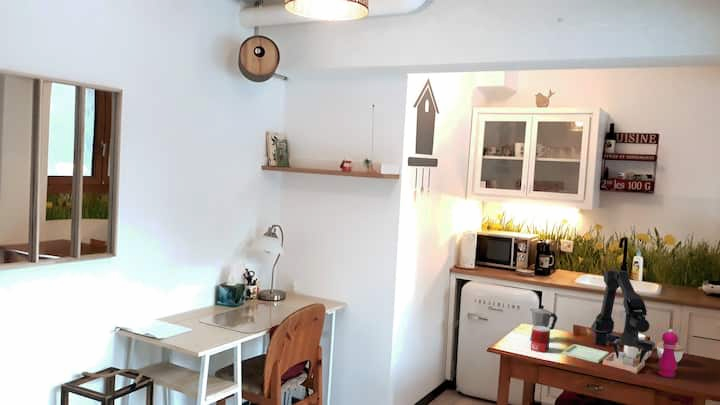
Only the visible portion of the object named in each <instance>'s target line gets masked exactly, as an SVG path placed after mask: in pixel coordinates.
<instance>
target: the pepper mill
mask: <svg viewBox="0 0 720 405" xmlns="http://www.w3.org/2000/svg"><path fill="white" fill-rule="evenodd" d="M661 337H662V338H661V340H662V342H664V343H663V347H664V351H663V354H662V356H661V357H660V358H659V360H658V362H657V364H658V367H659V369H658V374H659V375H660V376H662V377H665V378H675V377H676V376H675V375H676V372H675V371H676V369H678V362H676V359H675V355H674V350H675V348H676V345H675V344H678V342H679V338H678V336H677V334H676V333H674V330H673V329H672V328H669V329H668V331H667V332H664V333H663V334H662V336H661Z"/></svg>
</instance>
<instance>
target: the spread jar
mask: <svg viewBox="0 0 720 405" xmlns="http://www.w3.org/2000/svg"><path fill="white" fill-rule="evenodd" d="M638 337H639V341H641V342H644V341H645V340H646V335H645V334H643V333H638ZM641 349H642V346H639V345H635V344H633V346H632V347H629V346H626V345H623V352H624V353H626V356H628V357H633V358H637V359H640V355H641ZM651 355H652V351H649V352H646V354H645V356H644V358H643V360H645V361H646V360H647V359H648V358H650V357H651Z"/></svg>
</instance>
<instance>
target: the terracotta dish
mask: <svg viewBox="0 0 720 405" xmlns="http://www.w3.org/2000/svg"><path fill="white" fill-rule="evenodd" d="M627 357H628V356H627ZM631 358H633V357H631ZM613 359H614V352H611V353H609V355H608V356H606V357H605V358H604V359H603V360H602V365H603V366H604V365H605V366H608V367H613V368H616V369H617V368H618V369H621V370H626V371H628V372H629V373H631V374H635V375H637V374H638V373H639V372H641V370H642V369H643V368H644V367H645V363H646V360H642V362H641V363H640V364H639V360H640V359H637V358H635V359H634V367H632V366H628V365H624V364H621V363H617V362H613Z"/></svg>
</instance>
